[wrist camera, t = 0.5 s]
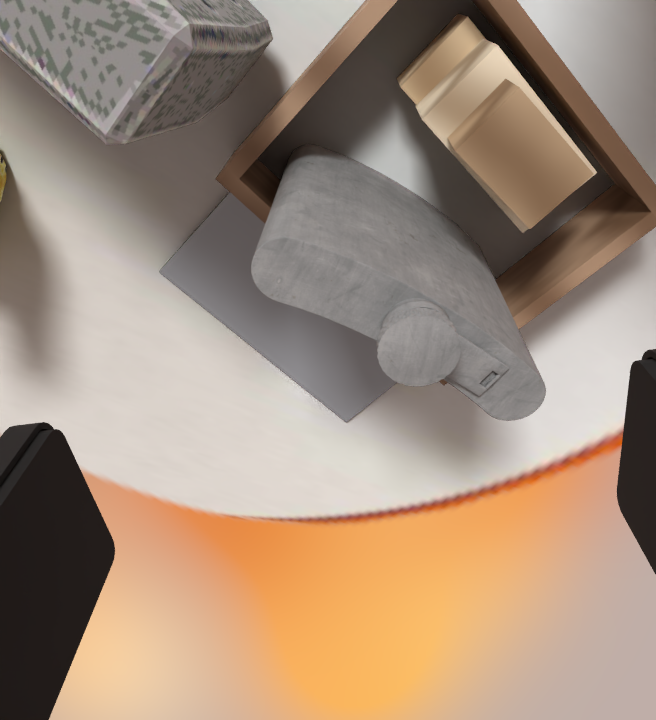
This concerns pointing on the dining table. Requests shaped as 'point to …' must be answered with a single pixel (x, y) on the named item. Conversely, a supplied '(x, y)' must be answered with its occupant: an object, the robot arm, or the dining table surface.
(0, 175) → the chocolate bunny
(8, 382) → the dining table surface
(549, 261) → the wooden tray
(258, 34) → the decorative stone tablet
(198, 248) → the felt pad
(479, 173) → the offcut top
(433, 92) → the offcut mid
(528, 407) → the hip flask
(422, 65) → the offcut base
